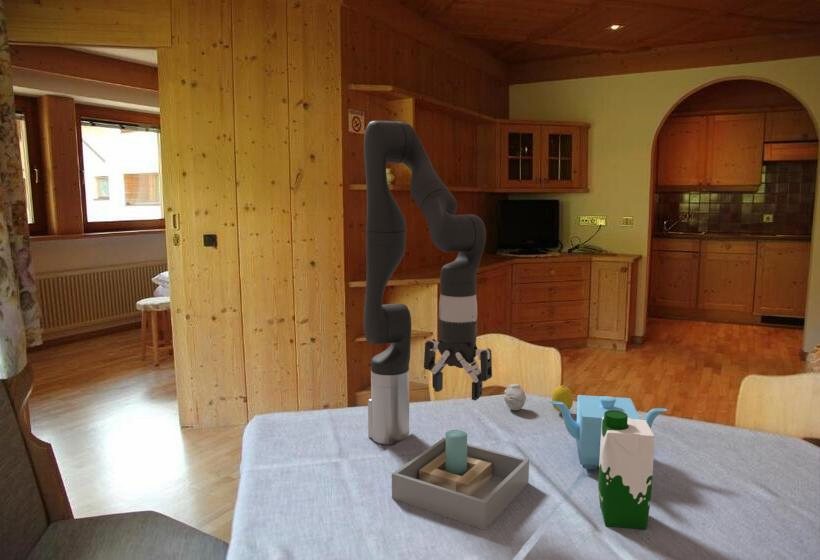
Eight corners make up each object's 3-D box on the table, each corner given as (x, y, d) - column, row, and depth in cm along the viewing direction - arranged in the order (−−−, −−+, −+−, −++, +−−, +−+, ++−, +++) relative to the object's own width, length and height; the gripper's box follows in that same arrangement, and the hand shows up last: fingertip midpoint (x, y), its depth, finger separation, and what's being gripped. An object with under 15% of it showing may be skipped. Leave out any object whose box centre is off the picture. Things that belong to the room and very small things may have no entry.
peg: (441, 481, 122) (441, 435, 121) (451, 473, 126) (452, 428, 125) (460, 487, 120) (460, 440, 119) (470, 478, 124) (471, 432, 122)
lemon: (573, 418, 159) (574, 389, 157) (551, 416, 160) (552, 388, 158) (571, 410, 164) (572, 382, 163) (551, 409, 165) (551, 381, 164)
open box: (391, 502, 116) (391, 473, 115) (443, 463, 133) (443, 437, 132) (484, 534, 105) (485, 503, 104) (528, 487, 122) (529, 459, 121)
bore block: (419, 484, 122) (419, 470, 121) (446, 463, 131) (446, 450, 130) (467, 499, 116) (467, 484, 115) (491, 476, 125) (492, 462, 124)
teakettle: (598, 437, 146) (601, 379, 144) (668, 466, 131) (672, 402, 129) (544, 456, 136) (545, 394, 134) (612, 490, 121) (616, 421, 118)
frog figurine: (520, 404, 169) (521, 380, 168) (529, 413, 162) (530, 388, 161) (500, 405, 168) (500, 381, 167) (508, 414, 161) (509, 390, 160)
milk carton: (594, 503, 116) (599, 404, 113) (643, 507, 114) (649, 407, 111) (600, 528, 107) (605, 422, 104) (653, 533, 106) (660, 426, 103)
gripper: (417, 315, 118) (417, 393, 121) (481, 324, 111) (480, 408, 113) (436, 308, 125) (436, 383, 127) (499, 317, 117) (497, 396, 120)
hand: (456, 394), depth 120 cm, fingers open, 8 cm apart
